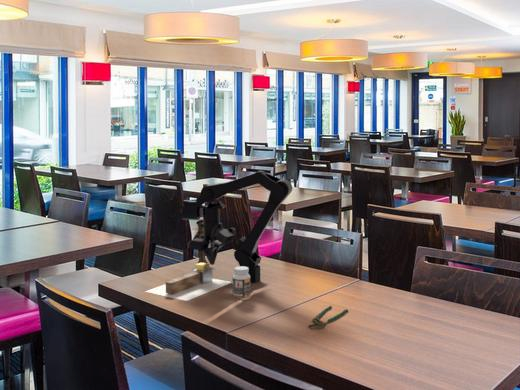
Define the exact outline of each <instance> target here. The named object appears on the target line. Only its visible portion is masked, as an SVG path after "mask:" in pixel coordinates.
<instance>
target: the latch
mask: <svg viewBox="0 0 520 390" xmlns="http://www.w3.org/2000/svg"><path fill="white" fill-rule="evenodd" d="M209 268H210V263H198V262H197V263H195V269H196V270H201V271H205V270H208V269H209Z"/></svg>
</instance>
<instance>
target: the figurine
mask: <svg viewBox="0 0 520 390" xmlns="http://www.w3.org/2000/svg"><path fill="white" fill-rule="evenodd" d="M202 223H203V218H202V219H199V220H196V223H195V224H196V225H197V229H198V230H197V232H196V233H195V235H194V236H193V238H192V240H193V239H203V238H201V235H203V227H201V224H202ZM208 262H209V261H208V260H207V258H206V255H205V253H204V251H203V250H198V262H197V264H198V263H207V264H209V263H208Z"/></svg>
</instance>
